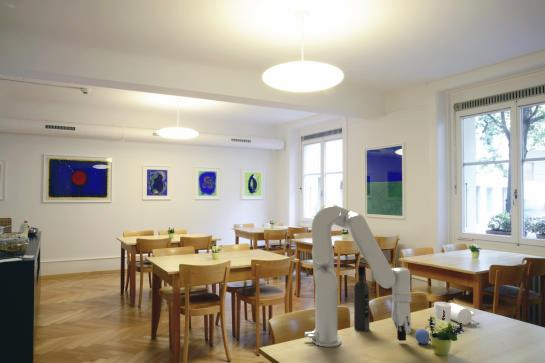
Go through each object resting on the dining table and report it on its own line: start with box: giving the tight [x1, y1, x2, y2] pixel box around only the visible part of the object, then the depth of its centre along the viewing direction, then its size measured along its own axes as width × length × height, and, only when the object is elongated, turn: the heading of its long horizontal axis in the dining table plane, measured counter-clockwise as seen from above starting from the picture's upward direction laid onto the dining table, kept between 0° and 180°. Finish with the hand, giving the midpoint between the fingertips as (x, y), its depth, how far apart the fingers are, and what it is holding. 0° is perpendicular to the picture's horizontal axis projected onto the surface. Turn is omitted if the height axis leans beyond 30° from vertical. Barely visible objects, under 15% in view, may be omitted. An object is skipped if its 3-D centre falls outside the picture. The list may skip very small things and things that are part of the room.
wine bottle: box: [353, 264, 370, 333], centre depth 181 cm, size 6×6×30 cm
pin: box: [406, 313, 412, 335], centre depth 176 cm, size 2×2×9 cm
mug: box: [449, 302, 476, 326], centre depth 192 cm, size 12×10×8 cm
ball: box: [414, 328, 431, 345], centre depth 163 cm, size 6×6×6 cm
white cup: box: [433, 301, 452, 323], centre depth 187 cm, size 8×8×10 cm
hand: (401, 339), depth 163 cm, fingers closed
